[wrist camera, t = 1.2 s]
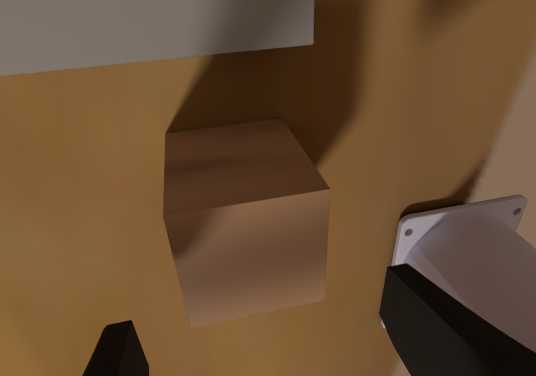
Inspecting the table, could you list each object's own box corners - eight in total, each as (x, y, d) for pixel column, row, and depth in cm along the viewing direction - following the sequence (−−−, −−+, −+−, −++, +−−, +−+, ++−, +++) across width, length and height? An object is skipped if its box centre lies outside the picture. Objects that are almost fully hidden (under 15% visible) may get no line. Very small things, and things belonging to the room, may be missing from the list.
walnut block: (284, 210, 19) (324, 300, 14) (185, 226, 18) (191, 328, 13) (281, 117, 16) (330, 188, 11) (165, 132, 16) (163, 216, 11)
